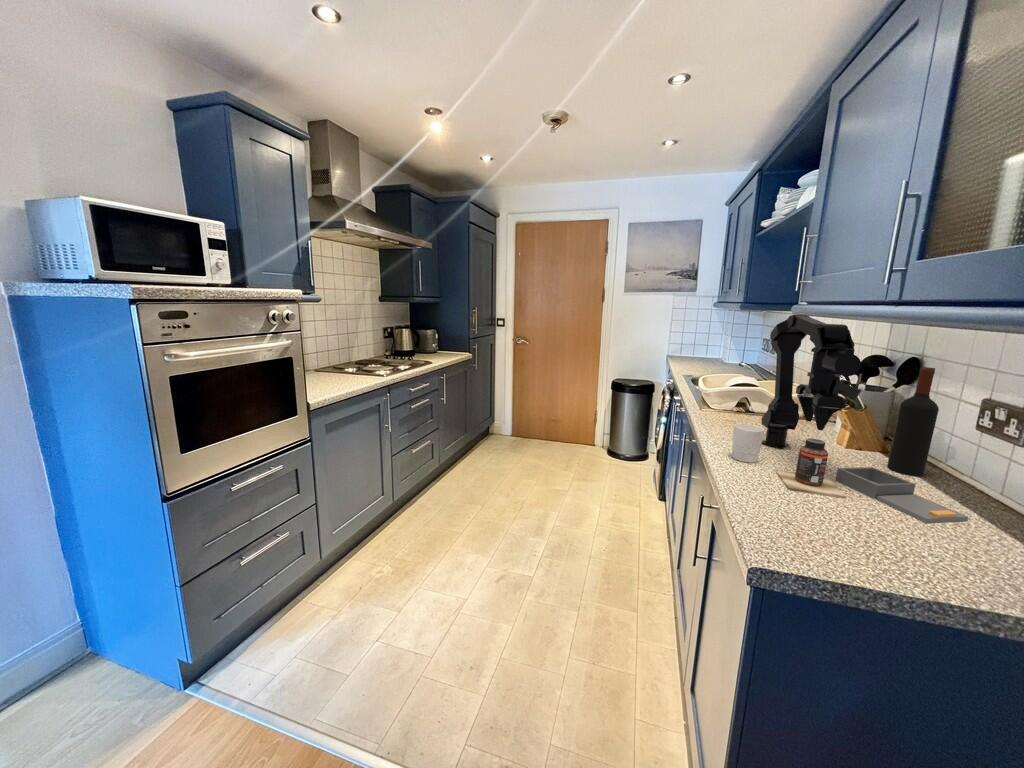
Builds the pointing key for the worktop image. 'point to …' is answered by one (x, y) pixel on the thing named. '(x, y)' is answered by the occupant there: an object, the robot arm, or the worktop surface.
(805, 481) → the supplement bottle
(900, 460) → the wine bottle
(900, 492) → the case
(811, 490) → the board
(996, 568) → the worktop surface
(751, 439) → the white cup
